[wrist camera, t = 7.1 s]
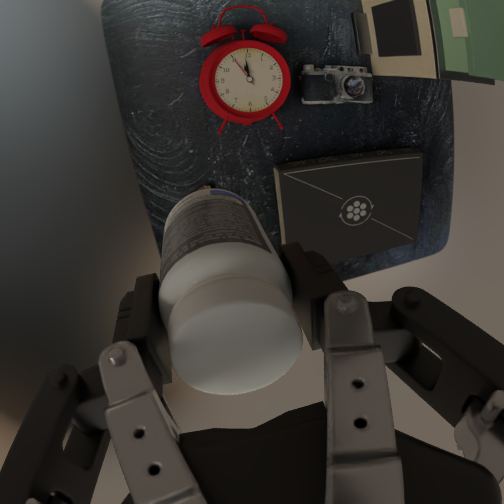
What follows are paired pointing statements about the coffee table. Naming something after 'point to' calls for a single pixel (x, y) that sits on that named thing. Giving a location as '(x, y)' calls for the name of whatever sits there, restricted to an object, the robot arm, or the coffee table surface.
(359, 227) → the book
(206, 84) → the alarm clock
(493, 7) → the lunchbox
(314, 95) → the camera
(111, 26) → the coffee table surface
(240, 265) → the pill bottle
